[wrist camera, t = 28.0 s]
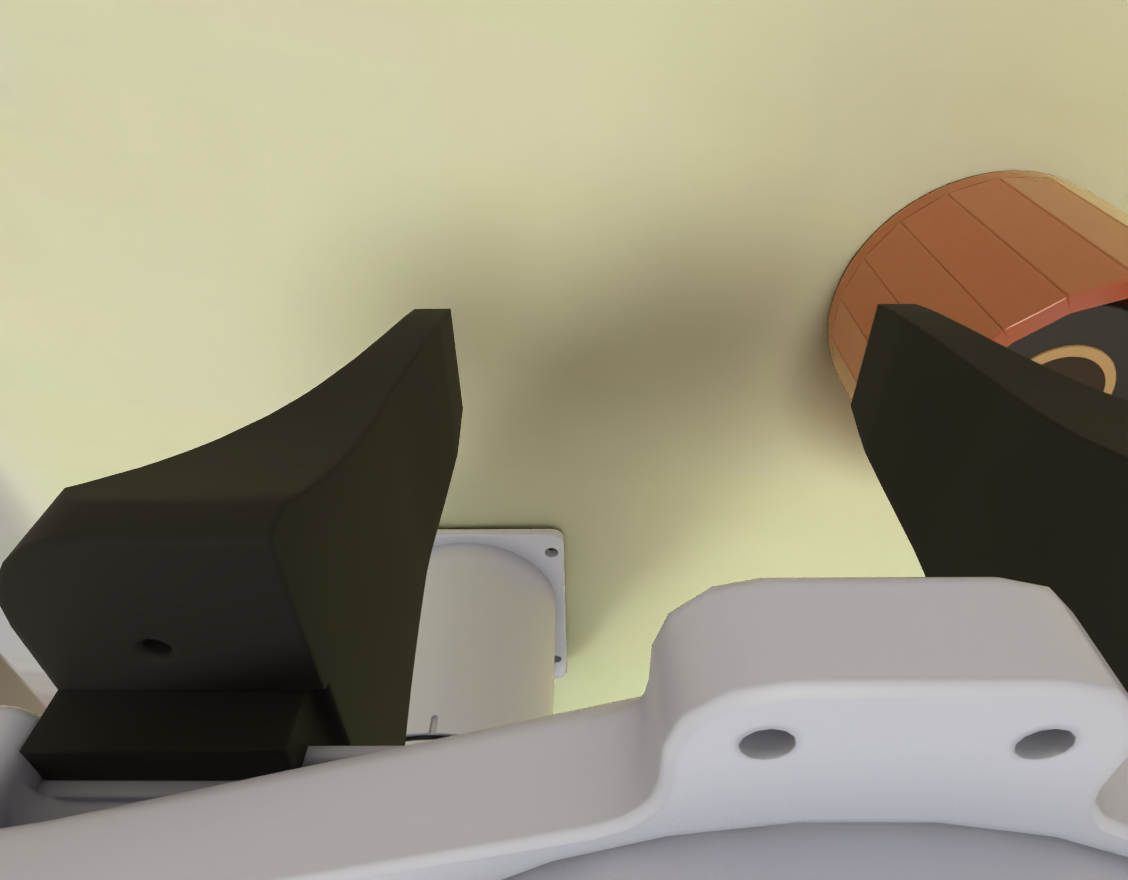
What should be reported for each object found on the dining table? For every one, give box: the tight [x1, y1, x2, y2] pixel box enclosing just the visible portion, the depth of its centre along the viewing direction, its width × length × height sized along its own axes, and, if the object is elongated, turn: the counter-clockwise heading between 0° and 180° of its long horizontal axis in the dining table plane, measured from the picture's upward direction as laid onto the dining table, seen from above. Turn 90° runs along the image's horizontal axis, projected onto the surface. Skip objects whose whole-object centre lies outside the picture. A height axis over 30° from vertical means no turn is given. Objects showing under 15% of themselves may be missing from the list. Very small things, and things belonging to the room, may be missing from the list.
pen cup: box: [828, 171, 1128, 400], centre depth 21 cm, size 9×9×7 cm
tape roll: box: [1007, 301, 1128, 401], centre depth 21 cm, size 5×5×4 cm
